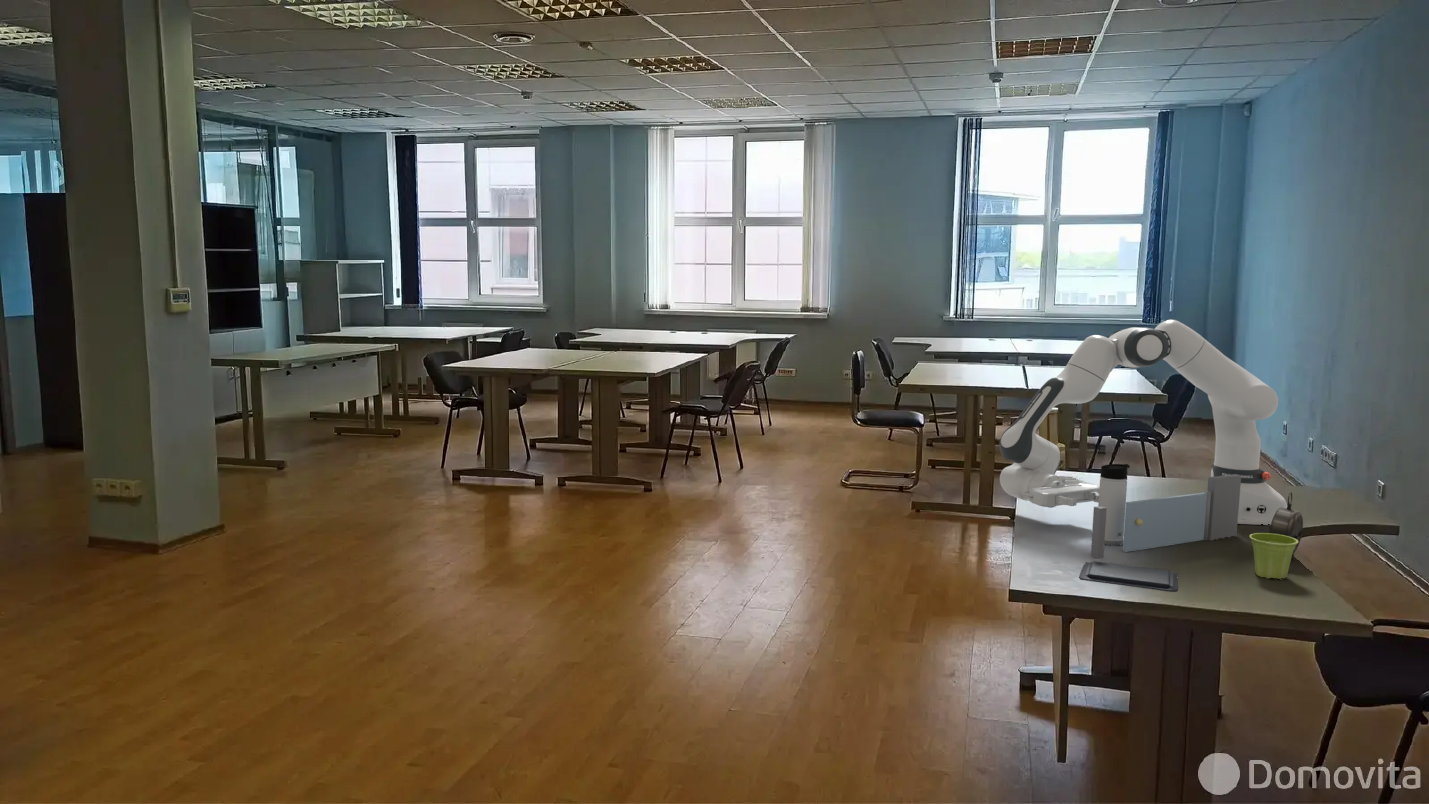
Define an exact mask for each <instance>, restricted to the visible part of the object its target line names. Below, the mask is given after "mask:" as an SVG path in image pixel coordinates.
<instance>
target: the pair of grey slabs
mask: <svg viewBox="0 0 1429 804" xmlns="http://www.w3.org/2000/svg"><path fill="white" fill-rule="evenodd" d="M1240 485H1241V475H1237V474H1233V475H1225V476H1216V477H1211V476H1208V478H1207V490H1206V491H1209V492H1211V501H1210V513H1209V526H1208V539H1207V541H1210V540H1211V541H1215V540H1214V539H1216V540H1219V539H1218V538H1222V539H1225V538H1224V537H1228V538H1232V537H1231V536H1235V537H1237V534H1238V533H1237V531H1238V524H1237V522H1238V510H1239V498H1240ZM1106 511H1107V508H1105V507H1102V506H1098V505H1095V506H1093V513H1092V515H1093V516H1092V532H1091V544H1090V547H1091V548H1090V557H1093V558H1096V559H1103V558H1105V557H1104V555H1105V545H1104V542H1105V526H1106Z"/></svg>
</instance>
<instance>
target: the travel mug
mask: <svg viewBox="0 0 1429 804" xmlns="http://www.w3.org/2000/svg"><path fill="white" fill-rule="evenodd" d="M1130 466H1131V465H1130V464H1128V463H1123V464H1122V463H1111V464H1109V463H1108V464H1105V465H1104V464H1103V465H1101V468H1100V476H1099V487H1100V488H1099V503H1098V505H1097V506H1102V507H1105V508H1107V511H1106V526H1105V542H1104V544H1106V546H1112V545H1117V546H1122V545H1123V541H1124V526H1125V511H1126V502H1127V488H1128V487H1127V486H1128V469H1130Z"/></svg>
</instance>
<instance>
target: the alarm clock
mask: <svg viewBox="0 0 1429 804" xmlns="http://www.w3.org/2000/svg"><path fill="white" fill-rule="evenodd" d="M1292 502H1293V493H1292V491H1291V490H1290V491H1289V492H1288V495H1287V503H1286V504H1287V509H1286V508H1282V507H1280V508H1279V509H1278V510H1277V511H1276V513H1275V514H1274V516H1273V519H1272V522H1271V525H1269V526H1270V527H1269V531H1268V533H1271V534H1279V535H1285V536H1289V537H1292V538H1295V539H1297V540H1298V544H1296V546H1295V549H1294V550H1293V553H1292V557H1291V558H1292V559H1293V560H1294V561H1295V560H1296V558H1295V552H1296V551H1297V549H1298V547H1299V545H1300V543H1301V539H1302V535H1303V534H1304V531H1303V528H1304V526H1303V525H1304V517H1303V515H1302V514H1301V512H1300V511H1299V510H1297V509H1292V505H1293V504H1292ZM1293 557H1294V558H1295V559H1294V558H1293Z"/></svg>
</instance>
